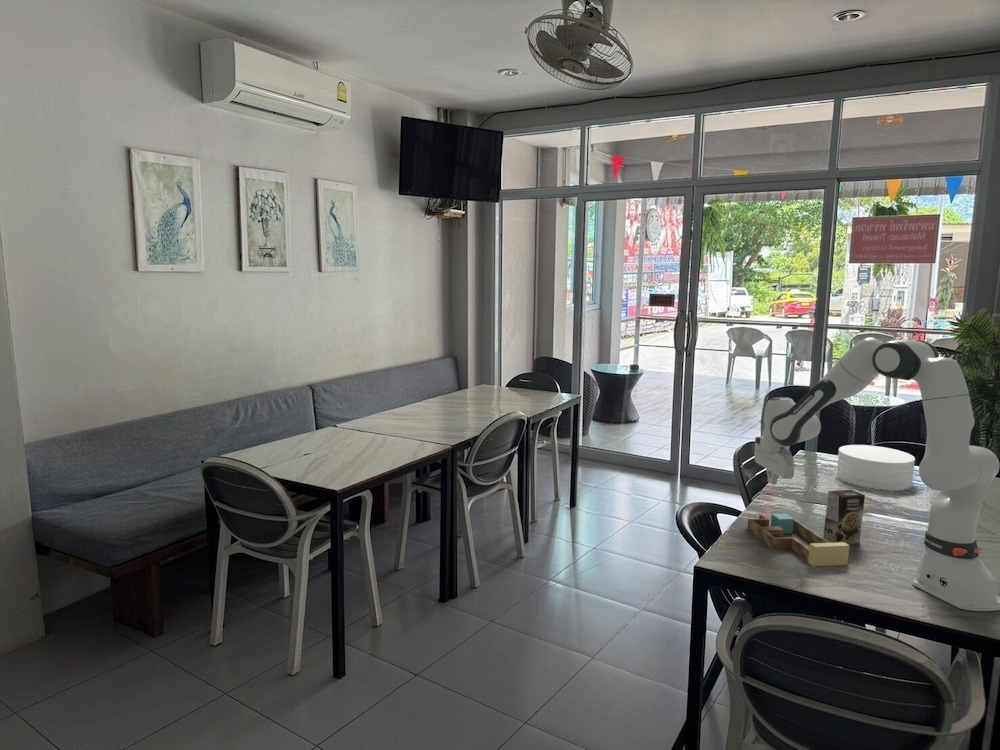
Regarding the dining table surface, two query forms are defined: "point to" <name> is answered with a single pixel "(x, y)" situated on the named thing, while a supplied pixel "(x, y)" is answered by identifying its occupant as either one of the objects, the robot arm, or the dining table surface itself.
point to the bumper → (828, 554)
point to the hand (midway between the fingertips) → (771, 483)
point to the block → (783, 522)
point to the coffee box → (844, 516)
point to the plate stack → (875, 467)
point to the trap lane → (775, 535)
